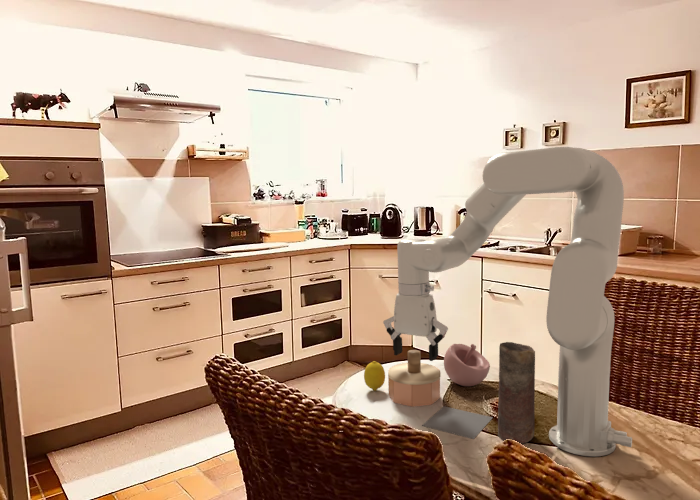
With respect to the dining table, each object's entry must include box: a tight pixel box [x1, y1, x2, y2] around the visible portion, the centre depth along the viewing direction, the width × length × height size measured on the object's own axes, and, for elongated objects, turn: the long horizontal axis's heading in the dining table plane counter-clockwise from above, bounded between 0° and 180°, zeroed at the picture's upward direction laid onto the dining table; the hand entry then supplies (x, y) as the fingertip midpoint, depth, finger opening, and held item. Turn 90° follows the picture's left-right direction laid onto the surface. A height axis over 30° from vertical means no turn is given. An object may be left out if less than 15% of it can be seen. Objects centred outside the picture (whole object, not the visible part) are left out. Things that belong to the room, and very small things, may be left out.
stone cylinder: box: [497, 341, 536, 444], centre depth 111 cm, size 8×7×20 cm
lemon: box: [363, 360, 386, 392], centre depth 139 cm, size 6×6×8 cm
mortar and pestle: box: [443, 343, 491, 387], centre depth 142 cm, size 12×12×12 cm
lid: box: [387, 349, 442, 385], centre depth 133 cm, size 13×13×6 cm
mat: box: [421, 405, 494, 440], centre depth 119 cm, size 12×12×1 cm
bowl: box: [387, 376, 441, 408], centre depth 134 cm, size 12×12×6 cm
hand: (415, 356), depth 133 cm, fingers open, 9 cm apart
